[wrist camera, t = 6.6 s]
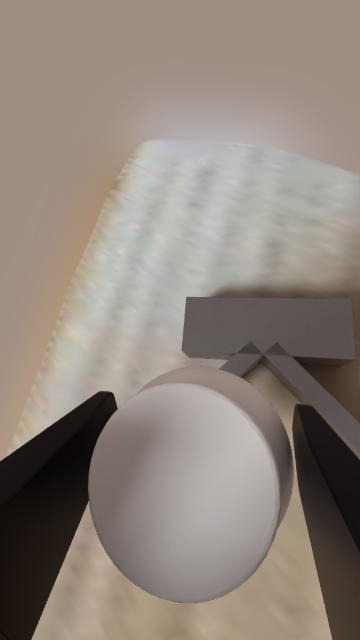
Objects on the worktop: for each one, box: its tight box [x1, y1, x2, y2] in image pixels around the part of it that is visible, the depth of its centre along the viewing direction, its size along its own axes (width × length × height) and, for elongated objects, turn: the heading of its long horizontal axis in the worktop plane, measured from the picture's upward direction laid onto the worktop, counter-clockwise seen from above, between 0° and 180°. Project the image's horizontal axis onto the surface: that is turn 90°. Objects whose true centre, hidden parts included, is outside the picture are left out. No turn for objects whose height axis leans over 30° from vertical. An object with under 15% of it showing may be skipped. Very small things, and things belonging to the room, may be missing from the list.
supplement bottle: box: [88, 366, 294, 603], centre depth 10 cm, size 5×5×10 cm
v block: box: [182, 297, 360, 459], centre depth 20 cm, size 10×14×3 cm
